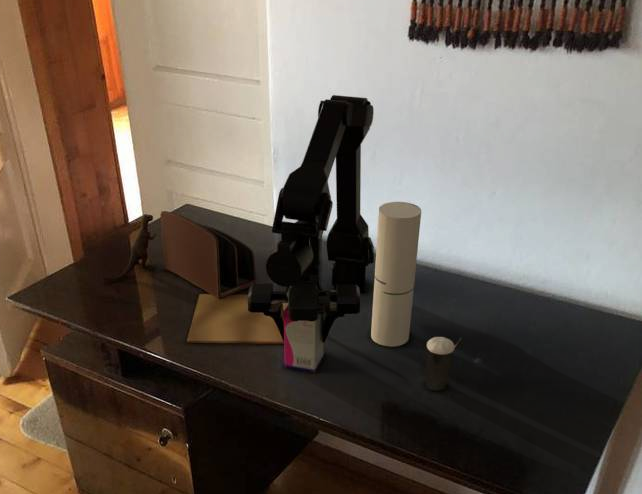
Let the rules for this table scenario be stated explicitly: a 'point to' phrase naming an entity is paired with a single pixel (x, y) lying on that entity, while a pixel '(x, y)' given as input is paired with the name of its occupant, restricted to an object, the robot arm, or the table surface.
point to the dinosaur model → (138, 249)
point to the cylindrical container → (395, 272)
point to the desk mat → (231, 322)
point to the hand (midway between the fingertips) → (304, 341)
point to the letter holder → (206, 256)
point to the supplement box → (303, 343)
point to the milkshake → (438, 362)
